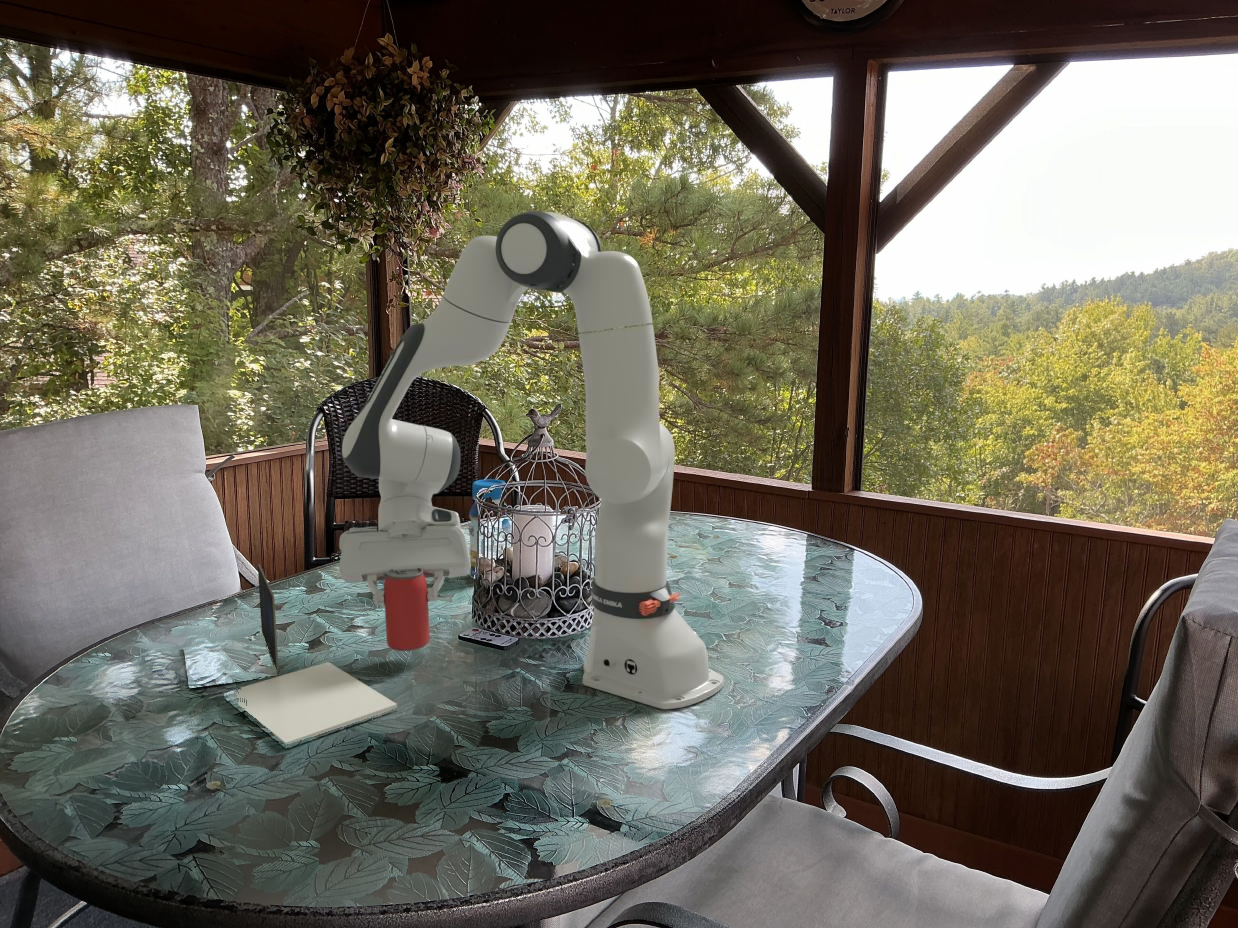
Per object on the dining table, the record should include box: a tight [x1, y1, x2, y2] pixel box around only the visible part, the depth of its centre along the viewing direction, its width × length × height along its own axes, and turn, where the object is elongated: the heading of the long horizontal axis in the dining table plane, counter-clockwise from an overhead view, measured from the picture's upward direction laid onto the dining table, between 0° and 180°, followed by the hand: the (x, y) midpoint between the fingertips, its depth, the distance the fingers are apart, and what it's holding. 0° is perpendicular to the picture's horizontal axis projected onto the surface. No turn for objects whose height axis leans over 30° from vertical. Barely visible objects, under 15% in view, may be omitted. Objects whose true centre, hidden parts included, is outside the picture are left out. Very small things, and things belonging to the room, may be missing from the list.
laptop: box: [257, 564, 279, 671], centre depth 140 cm, size 18×12×13 cm
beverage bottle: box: [468, 478, 512, 579], centre depth 183 cm, size 8×8×20 cm
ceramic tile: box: [226, 661, 398, 745], centre depth 126 cm, size 20×16×1 cm
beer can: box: [383, 568, 431, 652], centre depth 140 cm, size 7×7×12 cm
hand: (406, 601), depth 139 cm, fingers closed on beer can, 7 cm apart
